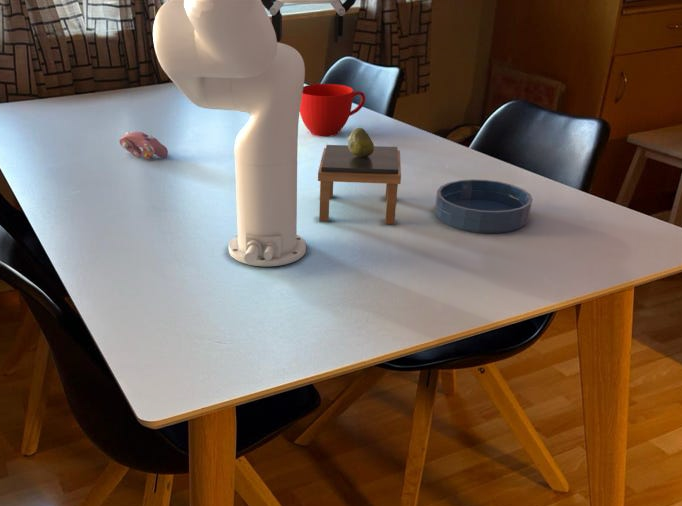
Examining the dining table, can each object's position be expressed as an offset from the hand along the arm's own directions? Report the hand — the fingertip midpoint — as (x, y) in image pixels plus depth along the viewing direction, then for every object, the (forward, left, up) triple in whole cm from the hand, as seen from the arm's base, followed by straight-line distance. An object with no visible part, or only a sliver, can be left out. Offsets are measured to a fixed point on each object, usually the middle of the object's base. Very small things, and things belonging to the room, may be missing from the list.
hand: (307, 40), depth 120 cm
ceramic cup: (+48, -2, -28) cm, 56 cm away
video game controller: (+24, +38, -28) cm, 53 cm away
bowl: (-3, -32, -28) cm, 43 cm away
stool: (-2, -10, -28) cm, 30 cm away
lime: (-2, -10, -19) cm, 21 cm away
